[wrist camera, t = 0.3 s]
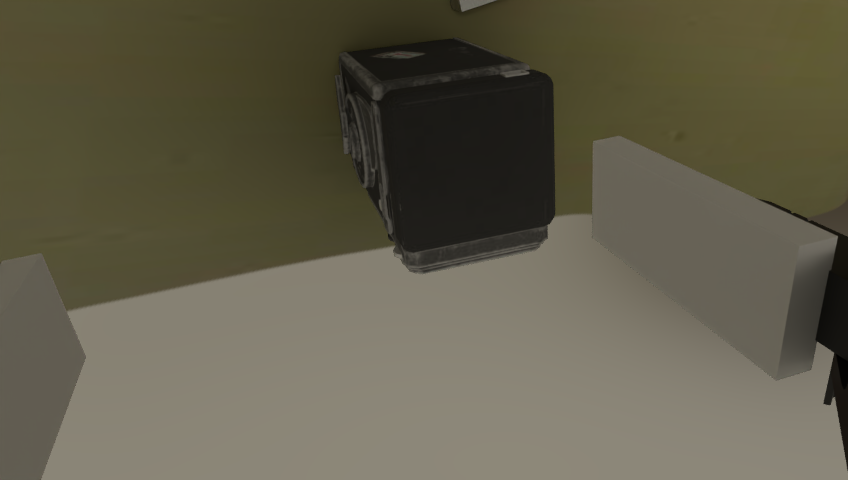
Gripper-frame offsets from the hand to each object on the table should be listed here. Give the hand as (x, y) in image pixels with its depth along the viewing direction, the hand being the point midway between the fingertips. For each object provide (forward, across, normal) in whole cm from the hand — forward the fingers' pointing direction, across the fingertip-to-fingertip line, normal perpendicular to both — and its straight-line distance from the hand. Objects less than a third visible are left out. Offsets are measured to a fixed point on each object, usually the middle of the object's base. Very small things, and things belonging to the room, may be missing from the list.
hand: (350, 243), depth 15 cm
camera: (+28, +8, -5) cm, 29 cm away
